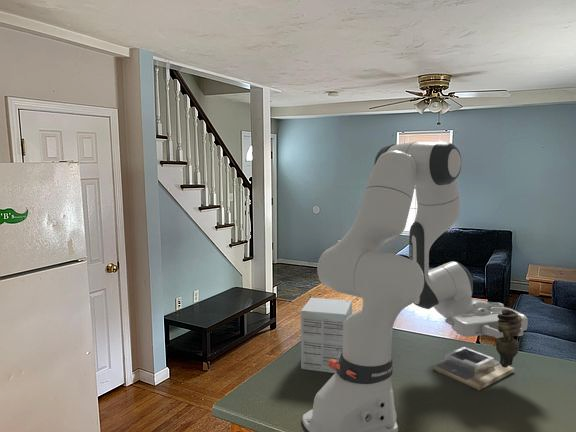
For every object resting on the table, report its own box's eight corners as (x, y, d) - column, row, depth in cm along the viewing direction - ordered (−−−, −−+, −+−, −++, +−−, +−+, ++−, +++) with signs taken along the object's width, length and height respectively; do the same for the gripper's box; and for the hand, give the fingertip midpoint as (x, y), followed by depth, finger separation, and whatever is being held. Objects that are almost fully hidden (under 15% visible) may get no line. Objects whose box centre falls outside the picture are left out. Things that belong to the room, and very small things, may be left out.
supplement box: (310, 350, 137) (310, 296, 135) (352, 355, 134) (352, 300, 132) (300, 369, 125) (299, 310, 123) (345, 375, 121) (346, 314, 119)
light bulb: (497, 360, 114) (501, 304, 112) (520, 366, 111) (524, 309, 109) (491, 367, 110) (495, 310, 108) (515, 374, 106) (519, 315, 105)
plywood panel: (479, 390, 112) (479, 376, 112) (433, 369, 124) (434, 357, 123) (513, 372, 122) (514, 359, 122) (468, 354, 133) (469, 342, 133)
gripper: (442, 307, 119) (476, 325, 105) (505, 302, 124) (544, 318, 111) (441, 330, 119) (474, 350, 106) (503, 323, 125) (543, 342, 111)
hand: (511, 334), depth 108 cm, fingers closed on light bulb, 4 cm apart
